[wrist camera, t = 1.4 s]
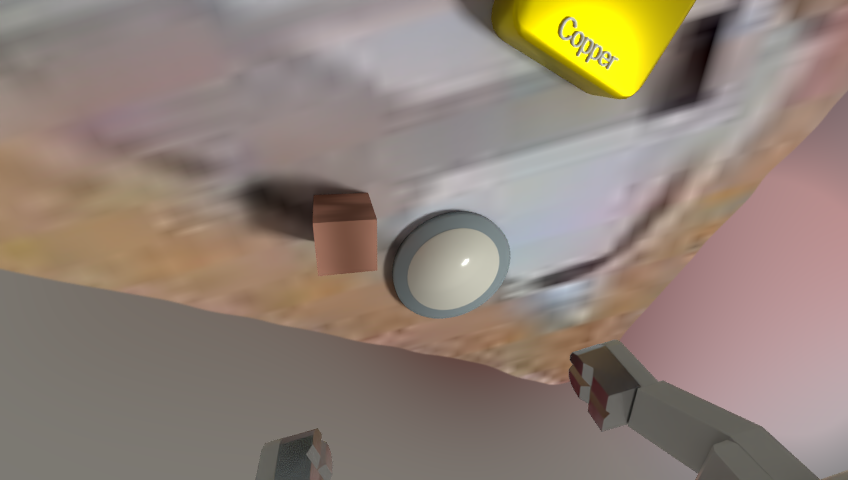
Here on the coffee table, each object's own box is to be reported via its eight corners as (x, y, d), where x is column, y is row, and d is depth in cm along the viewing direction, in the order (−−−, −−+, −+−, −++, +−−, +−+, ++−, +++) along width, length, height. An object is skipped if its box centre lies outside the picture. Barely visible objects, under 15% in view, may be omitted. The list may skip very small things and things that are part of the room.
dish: (391, 319, 41) (393, 326, 40) (393, 215, 34) (395, 220, 33) (496, 305, 45) (500, 311, 44) (516, 208, 38) (521, 212, 37)
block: (318, 241, 34) (318, 276, 29) (313, 194, 31) (312, 223, 26) (368, 238, 35) (377, 270, 30) (367, 192, 33) (376, 219, 28)
